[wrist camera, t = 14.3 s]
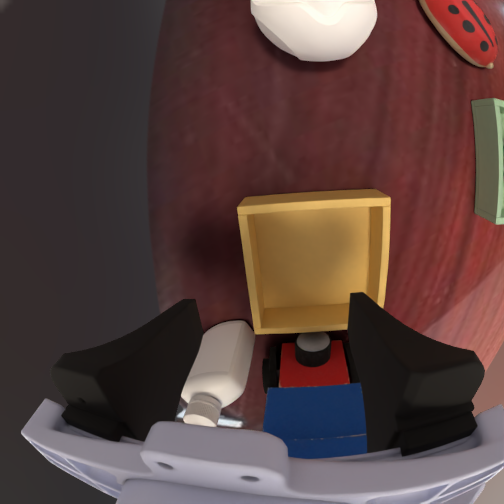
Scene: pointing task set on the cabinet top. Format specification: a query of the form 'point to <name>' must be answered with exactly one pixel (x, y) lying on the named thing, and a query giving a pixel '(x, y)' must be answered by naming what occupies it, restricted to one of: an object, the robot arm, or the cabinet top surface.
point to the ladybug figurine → (464, 29)
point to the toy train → (314, 398)
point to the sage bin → (489, 158)
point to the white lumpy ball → (316, 26)
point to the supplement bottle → (503, 159)
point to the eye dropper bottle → (218, 372)
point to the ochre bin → (313, 256)
